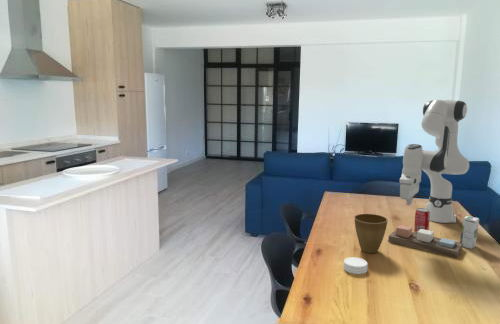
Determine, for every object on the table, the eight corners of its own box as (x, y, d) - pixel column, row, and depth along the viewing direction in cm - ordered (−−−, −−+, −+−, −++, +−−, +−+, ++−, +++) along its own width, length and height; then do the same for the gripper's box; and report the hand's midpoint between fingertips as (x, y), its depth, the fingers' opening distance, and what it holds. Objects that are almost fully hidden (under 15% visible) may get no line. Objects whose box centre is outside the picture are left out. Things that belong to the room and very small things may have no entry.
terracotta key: (399, 231, 196) (400, 224, 195) (411, 234, 192) (412, 227, 192) (395, 235, 191) (396, 227, 191) (408, 237, 188) (408, 230, 187)
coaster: (363, 277, 153) (364, 269, 153) (339, 271, 158) (340, 263, 158) (370, 267, 162) (370, 260, 161) (347, 262, 167) (347, 254, 166)
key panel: (396, 234, 201) (396, 229, 200) (462, 249, 182) (462, 243, 181) (388, 241, 191) (388, 235, 190) (456, 257, 172) (457, 251, 171)
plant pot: (385, 246, 184) (387, 215, 181) (385, 258, 170) (387, 224, 168) (353, 242, 189) (355, 211, 186) (351, 254, 175) (353, 221, 172)
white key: (420, 236, 190) (420, 228, 189) (432, 239, 186) (433, 231, 185) (416, 239, 185) (417, 232, 185) (429, 242, 182) (430, 234, 181)
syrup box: (463, 242, 190) (466, 215, 187) (476, 246, 185) (479, 217, 183) (459, 246, 186) (462, 217, 183) (472, 249, 181) (476, 220, 179)
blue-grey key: (441, 245, 184) (442, 237, 183) (455, 248, 180) (455, 240, 180) (438, 249, 179) (439, 241, 179) (452, 252, 176) (453, 244, 175)
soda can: (429, 235, 199) (432, 211, 197) (415, 234, 201) (417, 211, 198) (426, 231, 206) (428, 208, 204) (412, 230, 208) (414, 207, 205)
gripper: (410, 173, 196) (408, 199, 198) (398, 179, 180) (396, 207, 182) (423, 175, 192) (421, 201, 194) (412, 181, 176) (409, 210, 178)
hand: (408, 204), depth 188 cm, fingers closed
